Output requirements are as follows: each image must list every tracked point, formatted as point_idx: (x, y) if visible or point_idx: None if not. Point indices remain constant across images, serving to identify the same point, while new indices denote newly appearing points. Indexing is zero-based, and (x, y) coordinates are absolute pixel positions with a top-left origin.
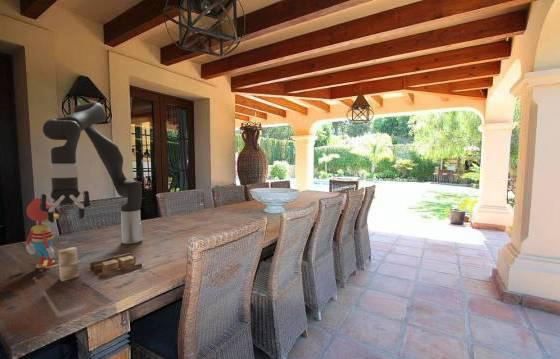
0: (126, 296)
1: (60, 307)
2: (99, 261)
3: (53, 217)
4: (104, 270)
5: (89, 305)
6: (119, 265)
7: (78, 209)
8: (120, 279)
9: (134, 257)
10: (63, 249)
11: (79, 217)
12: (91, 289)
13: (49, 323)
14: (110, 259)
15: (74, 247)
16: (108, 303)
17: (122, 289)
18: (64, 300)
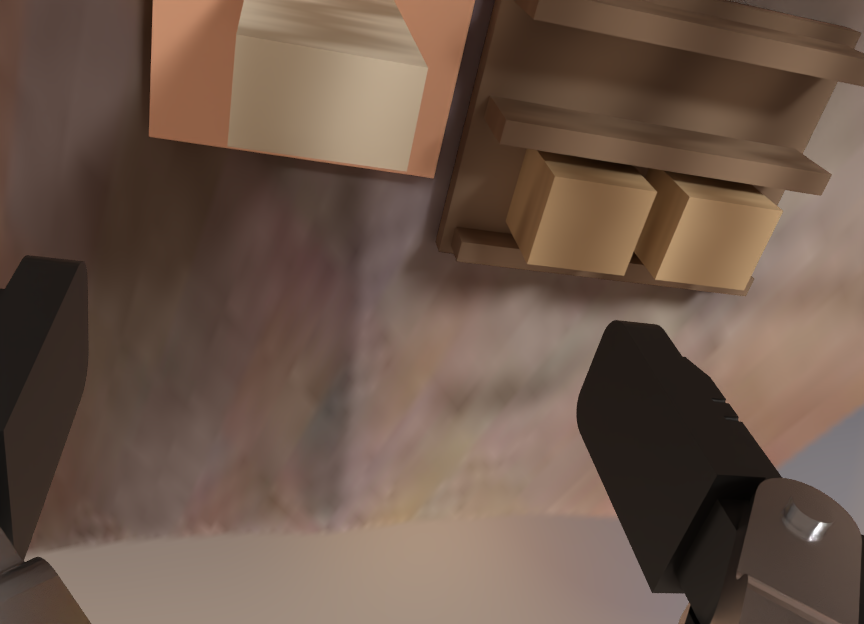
0: (405, 514)
1: (127, 398)
2: (607, 32)
3: (52, 463)
4: (521, 209)
5: (243, 477)
6: (656, 185)
7: (703, 455)
8: (531, 312)
9: (807, 190)
10: (290, 64)
11: (604, 366)
12: (341, 313)
13: (47, 504)
14: (697, 51)
15: (412, 92)
16: (313, 517)
17: (444, 439)
18: (169, 334)
